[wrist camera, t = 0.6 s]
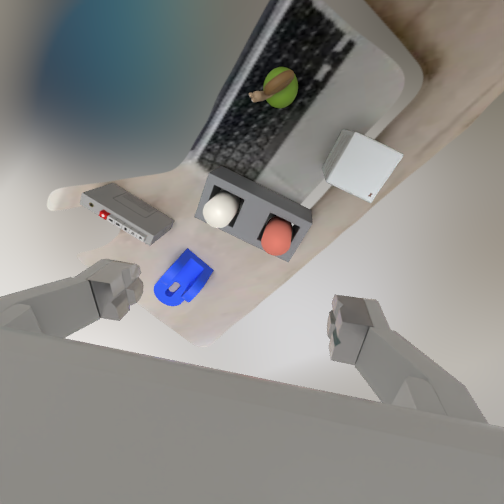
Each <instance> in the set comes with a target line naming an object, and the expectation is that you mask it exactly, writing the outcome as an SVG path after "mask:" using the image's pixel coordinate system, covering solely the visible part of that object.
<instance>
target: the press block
mask: <svg viewBox="0 0 504 504" xmlns="http://www.w3.org/2000/svg"><path fill="white" fill-rule="evenodd" d="M221 188H222V189H224V190H226V191H228V192H230V193H232V194H234V195H236V196H238V197H240V198H242V199H244V200H245V201H244V203H243V205H242V208H241V210H240V212H239V213H236V214H235V216H234V217H233V219H232V220H231V221H230V223H229V224H228V225H227V226H225V227H223V228H218V229H220V230H222V231H225V232H227V233H229V234H231V235H233V236H235V237H237V238H239V239H241V240H243V241H245V242H247V243H249V244H251V245H253V246H256V247H258V248H260V249H262V250H264V249H263V247H262V244H261V239H262V236H263V233H264V231H265V228H266V226H264V224H265V222H266V220H267V218H268V216H269V214H270V212H271V213H273V214H275V215H277V216H279V217H281V218H283V219H285V220H287V221H289V222H291V223H293V224H295V225H294V226H293V228H292V236H291V244H290V248H289V250H288V251H287V252H286V253H284V254H282V255H279V256H276V257H278V258H280V259H282V260H285V261H287V262H289V261H290V259H291V257H292V256H293V254H294V253H295V251H296V249H297V248H298V246H299V244H300V243H301V241H302V240H303V238H304V236H305V235H306V233H307V232H308V230H309V228H310V227H311V225H312V212H311V210H310V209H308V208H306V207H304V206H302V205H300V204H298V203H296V202H294V201H292V200H290V199H288V198H285V197H283V196H281V195H279V194H277V193H275V192H273V191H271V190H269V189H267V188H265V187H263V186H261V185H259V184H257V183H255V182H253V181H251V180H249V179H247V178H245V177H243V176H241V175H239V174H237V173H235V172H233V171H231V170H229V169H227V168H225V167H223V166H221V167H219V168H217V169H215V170H213V171H212V172H210V173H209V174H208V177H207V180H206V184H205V187H204V190H203V193H202V196H201V199H200V202H199V205H198V208H197V211H196V214H195V217H196V218H198V219H200V220H202V221H204V222H206V220H205V219H204V216H203V208H204V206H205V204H206V203H207V202H208V201H209V200H211V199H212V198H213V197H214V196H215V195H217V194H218V193H219V192H220V191H221ZM206 223H207V222H206ZM264 251H265V250H264Z"/></svg>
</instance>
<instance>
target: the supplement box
mask: <svg viewBox="0 0 504 504" xmlns="http://www.w3.org/2000/svg"><path fill="white" fill-rule="evenodd" d="M402 157H403V154H402V153H400V152H398V151H396V150H394V149H392V148H391V147H389V146H387V145H385V144H383V143H380V142H378V141H376V140H374V139H372V138H370V137H367V136H365V135H363V134H360V133H358V132H355V131H350V130H345V129H343V130H342V132H341V134H340V135H339V137H338V139H337V141H336V143H335V145H334V147H333V149H332V150H331V152H330V154H329V156H328V158H327V160H326V162H325V163H324V165H323V167H322V170H323V173H324V176H325V180H326V182H327V183H329V184H331V185H333V186H335V187H337V188H339V189H341V190H344V191H346V192H348V193H350V194H352V195H354V196H356V197H359V198H361V199H363V200H365V201H367V202H369V203H372V201H373V200H374V198H375V197H376V195H377V194H378V192H379V191H380V189H381V188H382V186H383V185H384V183H385V182H386V180H387V179H388V178H389V176H390V175H391V173H392V172H393V170H394V169H395V167H396V166H397V164H398V163H399V162H400V160H401V159H402Z"/></svg>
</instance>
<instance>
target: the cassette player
mask: <svg viewBox="0 0 504 504" xmlns="http://www.w3.org/2000/svg"><path fill="white" fill-rule="evenodd" d="M80 205H82V206H84V207H86V208H87V209H89V210H91V211H92V212H94V213H95V214H97V215H99V216H100V217H102V218H104V219H105V220H107V221H109V222H110V223H112V224H114V225H115V226H117V227H119V228H120V229H122V230H124V231H125V232H127V233H129V234H130V235H132V236H134V237H135V238H137V239H139V240H140V241H142V242H144V243H146V244H148V245H149V246H150V245H152V244H153V243H154V242H155V241H157V240H158V239H159V238H160V237H161V236H163V235H164V234H165V233H166V232H168V231H169V230H170V229H171V227H172V225H173V222H174V220H173V219H171V218H170V217H168V216H167V215H165V214H163V213H162V212H160V211H158V210H157V209H155V208H154V207H152V206H150V205H149V204H147V203H145V202H144V201H142V200H141V199H139V198H137V197H136V196H134V195H132V194H131V193H129V192H127V191H126V190H124V189H123V188H121V187H119V186H118V185H116V184H114V183H111V184H108V185H105V186H102V187H99V188H96V189H92V190H89V191H86V192H83V193H82V196H81V201H80Z"/></svg>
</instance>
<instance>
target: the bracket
mask: <svg viewBox="0 0 504 504" xmlns="http://www.w3.org/2000/svg"><path fill="white" fill-rule="evenodd" d="M212 272H213V269H211V268H210V267H209V266H208V265H207V264H206V263H204V262H203V261H202V260H201V259H200V258H198V257H197V256H196V255H195V254H194V253H192V252H191V251H190V250H189V249H188V248H187V249H186V250H185V252H184V253H183V254H182V255H181V256H180V257H179V258H178V259H177V260H176V261H175V263H174V264H173V265H172V266H171V267H170V268H169V269H168V270H167V271H166V273H165V274H164V275H163V276H162V277H161V278H160V279H159V281H158V282H157V283H156V284H155V286H154V293H155V295H156V297H157V298H158V299H159V300H160V301H161V302H162V303H164V304H166V305H169V306H177V305H179V304H181V303H182V302H183V301H184V300H186V301H187V302H190V301H191V300H192V299H193V298H194V297H195V296H196V295H197V294H198V293H199V292H200V290H201V289H202V288H203V287H204V285H205V284H206V282H207V280H208V279H209V277H210V275H211V274H212ZM174 282H178V283H179V284H180V285H181V286H180V287H179V288H178V289H177V290H176V291H175V292H170V291H169V289H168V288H169V287H170V286H171V285H172V284H173V283H174Z"/></svg>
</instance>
